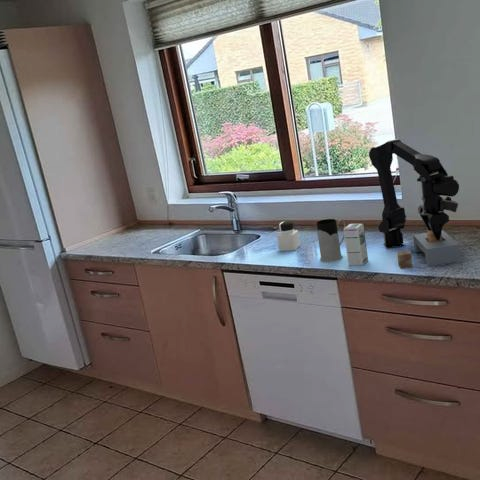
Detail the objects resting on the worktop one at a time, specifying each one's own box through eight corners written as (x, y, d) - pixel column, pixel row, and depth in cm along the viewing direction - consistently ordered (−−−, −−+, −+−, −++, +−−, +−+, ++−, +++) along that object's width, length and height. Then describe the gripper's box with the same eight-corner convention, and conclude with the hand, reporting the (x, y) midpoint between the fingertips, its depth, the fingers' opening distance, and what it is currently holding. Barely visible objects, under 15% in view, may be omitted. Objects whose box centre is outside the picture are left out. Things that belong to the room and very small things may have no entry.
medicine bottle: (300, 245, 246) (296, 219, 243) (294, 250, 240) (290, 223, 237) (285, 246, 249) (280, 220, 246) (279, 251, 243) (275, 224, 240)
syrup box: (363, 265, 206) (358, 227, 202) (347, 265, 209) (342, 227, 206) (368, 260, 210) (363, 223, 207) (353, 260, 214) (348, 223, 210)
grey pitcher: (315, 260, 222) (310, 223, 218) (340, 250, 229) (336, 214, 226) (331, 263, 215) (326, 225, 211) (356, 252, 222) (352, 215, 219)
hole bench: (428, 265, 194) (426, 249, 192) (414, 249, 213) (413, 234, 212) (460, 261, 193) (459, 244, 191) (444, 245, 212) (443, 230, 211)
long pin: (432, 257, 201) (430, 233, 199) (429, 254, 205) (427, 230, 203) (443, 256, 201) (441, 231, 199) (440, 253, 205) (438, 229, 202)
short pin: (400, 268, 196) (399, 255, 195) (398, 265, 200) (397, 252, 198) (412, 267, 195) (411, 253, 194) (410, 263, 199) (408, 250, 198)
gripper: (463, 195, 188) (466, 240, 191) (447, 186, 206) (450, 227, 209) (428, 200, 189) (432, 244, 193) (415, 190, 207) (419, 231, 211)
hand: (434, 236), depth 201 cm, fingers open, 8 cm apart
